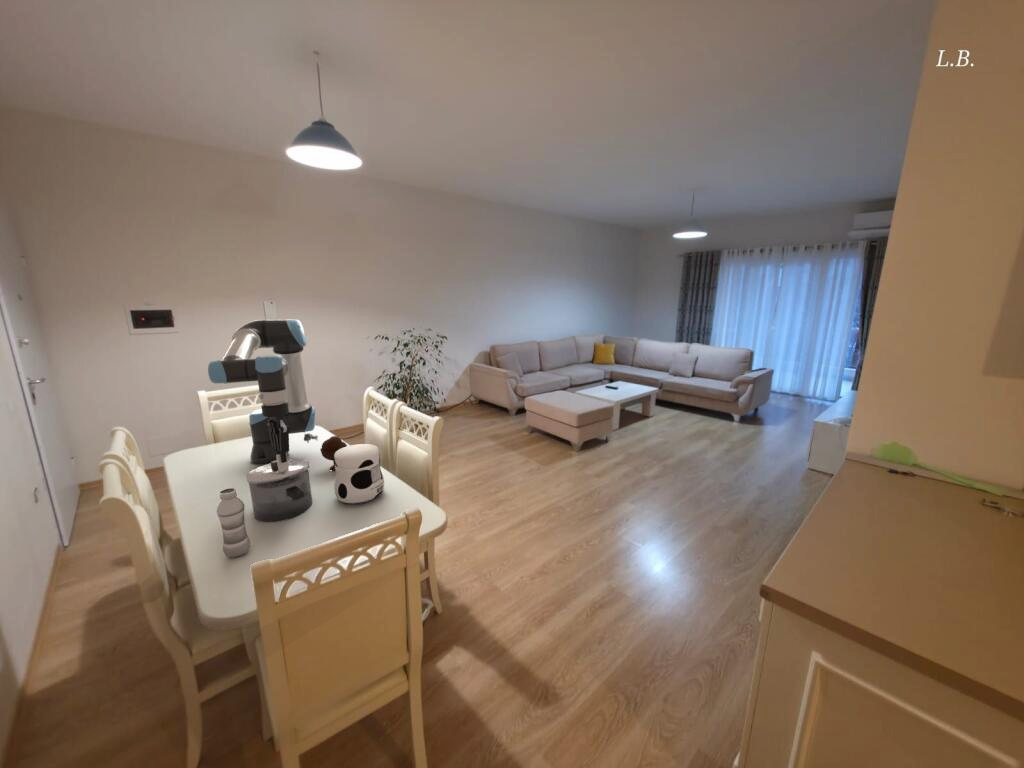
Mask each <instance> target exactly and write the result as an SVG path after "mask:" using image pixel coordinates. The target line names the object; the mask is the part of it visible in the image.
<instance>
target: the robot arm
mask: <svg viewBox="0 0 1024 768" xmlns="http://www.w3.org/2000/svg"><path fill="white" fill-rule="evenodd" d="M306 338H307V337H306V334H305V329H304V327H303V324H302V323H301V321H300V320H299V319H295V318H293V319H291V318H290V319H289V318H280V319H256V320H253V321H252V320H251V321H249V322H246V323H245V324H243V325H241V326H239V328H237V329H236V330H235V331H234V333H233V335H232V338H231V344H230V346H229V347H228V349H227V351H226V352H225V354H224V356H223V358H222V360H219V359H218V360H213V361H210V362H209V364H208V366H207V373H208V374H207V375H208V377H209V381H210V382H211V383H213V384H215V385H216V384H217V385H218V384H225V385H226V384H234V383H246V382H257V383H258V393H259V394H258V398H259V399H260V403H261V408H259V409H256V410H254V411H252V412H251V413H250V414H249V417H248V418H249V426H250V433H251V438H252V448H251V453H250V462H251V463H252V464H255V465H267V464H270V463H271V462H272V461H275V460H277V465H278V471H279V472H283V471H287V470H289V466H288V460H289V459H288V457H289V454H290V453H289V452H290V434H299V433H300V434H301V433H307V432H312V431H314V429H315V426H316V407H315V406H313V405H312V403H311V402H310V401H309V400H308V398H307V392H306V384H305V379H304V378H305V377H304V372H303V371H304V369H303V365H302V363H303V362H302V356H301V354H302V352H304V347H306V346H307V339H306ZM266 348H267V349H272V352H273V354H264V355H263V354H262V355H258V356H256V357H255V358H252V357H253V355H254V353H255V351H257V350H258V349H266Z"/></svg>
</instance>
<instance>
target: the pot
mask: <svg viewBox="0 0 1024 768" xmlns="http://www.w3.org/2000/svg"><path fill="white" fill-rule="evenodd" d="M308 469H309V468H308ZM308 469H307V470H306V471H304V472H302V473H301V474H298V475H296V476H293V477H290V478H287V479H283V480H279V481H275V482H269V483H260V484H254V483H249V482H248V485H249V491H250V498H251V503H252V504H251V505H252V511H253V515H254V516H253V517H254V518H255V519H256V520H257V521H259V522H262V523H276V522H277V523H278V522H283V521H288V520H290V519H294V518H296V517H298V516H300V515H303V514H304V513H305V512H307V511H308V510H310V508H311V507H312V505H313V497H312V496H313V495H312V488H311V480H310V479H311V478H310V471H309V470H308Z"/></svg>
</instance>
